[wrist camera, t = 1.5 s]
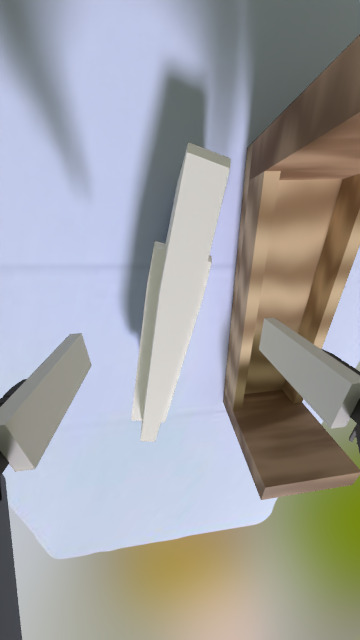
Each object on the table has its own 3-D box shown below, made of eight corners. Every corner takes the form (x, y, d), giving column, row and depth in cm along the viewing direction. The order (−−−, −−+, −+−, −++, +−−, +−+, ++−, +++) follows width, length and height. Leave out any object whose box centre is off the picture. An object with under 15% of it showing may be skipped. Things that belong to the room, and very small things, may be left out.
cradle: (247, 147, 18) (451, -59, 5) (355, 147, 19) (740, -29, 6) (223, 402, 34) (261, 499, 21) (282, 395, 35) (352, 484, 22)
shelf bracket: (132, 371, 29) (118, 440, 17) (162, 204, 24) (173, 130, 12) (165, 375, 30) (175, 442, 18) (201, 216, 25) (247, 159, 13)
